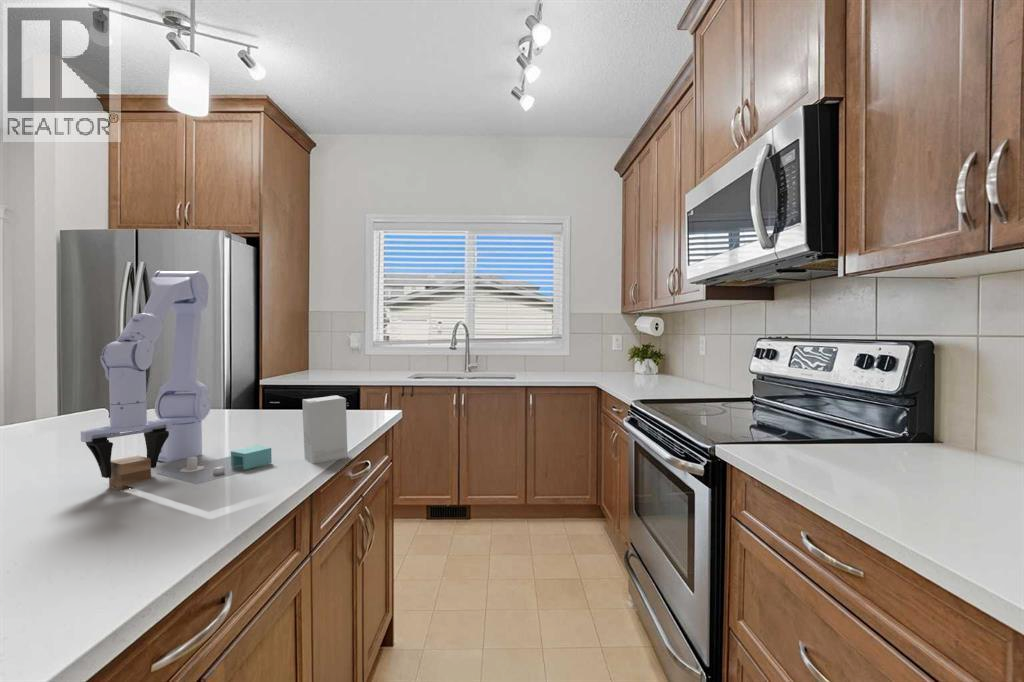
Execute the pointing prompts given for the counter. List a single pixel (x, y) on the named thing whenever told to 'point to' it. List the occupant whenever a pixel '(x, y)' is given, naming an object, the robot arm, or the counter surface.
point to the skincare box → (325, 429)
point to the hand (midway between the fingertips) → (129, 472)
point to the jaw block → (129, 471)
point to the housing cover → (251, 457)
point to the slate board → (206, 470)
